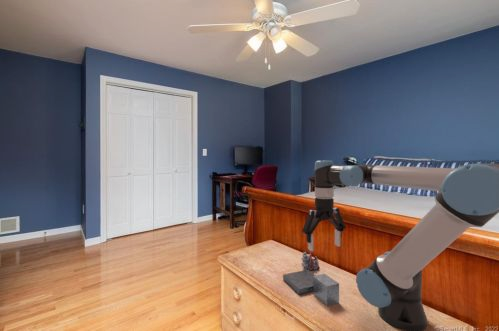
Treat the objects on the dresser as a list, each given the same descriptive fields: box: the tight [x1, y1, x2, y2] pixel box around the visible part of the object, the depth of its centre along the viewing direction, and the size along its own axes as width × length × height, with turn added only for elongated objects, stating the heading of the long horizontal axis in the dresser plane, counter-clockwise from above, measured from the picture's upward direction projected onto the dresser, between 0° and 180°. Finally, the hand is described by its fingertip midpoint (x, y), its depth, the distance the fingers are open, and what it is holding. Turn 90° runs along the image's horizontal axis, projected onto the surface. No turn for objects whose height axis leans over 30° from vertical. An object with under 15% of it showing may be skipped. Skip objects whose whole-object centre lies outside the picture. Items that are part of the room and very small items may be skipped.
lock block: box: [312, 273, 340, 307], centre depth 101 cm, size 9×6×8 cm, turn 21°
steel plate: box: [282, 269, 317, 296], centre depth 113 cm, size 14×14×2 cm
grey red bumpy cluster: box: [300, 250, 320, 271], centre depth 130 cm, size 11×10×11 cm
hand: (324, 248), depth 102 cm, fingers open, 13 cm apart
